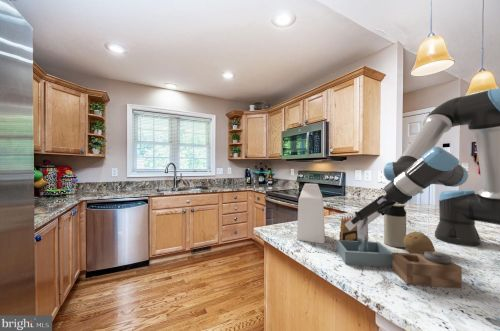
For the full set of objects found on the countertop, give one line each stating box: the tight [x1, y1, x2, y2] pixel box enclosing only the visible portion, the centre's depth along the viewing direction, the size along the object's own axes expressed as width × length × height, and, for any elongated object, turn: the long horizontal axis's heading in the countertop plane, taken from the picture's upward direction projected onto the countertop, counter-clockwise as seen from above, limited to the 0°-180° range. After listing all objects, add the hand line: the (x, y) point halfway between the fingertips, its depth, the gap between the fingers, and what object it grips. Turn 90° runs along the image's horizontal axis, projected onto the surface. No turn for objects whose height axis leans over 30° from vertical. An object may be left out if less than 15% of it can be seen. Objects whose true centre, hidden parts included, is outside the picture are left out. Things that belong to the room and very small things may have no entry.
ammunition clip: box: [339, 214, 357, 241], centre depth 94 cm, size 11×2×12 cm, turn 118°
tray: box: [335, 239, 393, 268], centre depth 78 cm, size 16×12×4 cm
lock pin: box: [357, 217, 369, 252], centre depth 78 cm, size 4×4×16 cm
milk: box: [296, 183, 326, 244], centre depth 101 cm, size 12×12×26 cm
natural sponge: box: [403, 231, 436, 254], centre depth 77 cm, size 9×9×10 cm
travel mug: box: [383, 202, 407, 249], centre depth 91 cm, size 8×8×18 cm
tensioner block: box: [391, 251, 463, 289], centre depth 63 cm, size 14×8×8 cm, turn 81°
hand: (356, 224), depth 80 cm, fingers open, 13 cm apart
